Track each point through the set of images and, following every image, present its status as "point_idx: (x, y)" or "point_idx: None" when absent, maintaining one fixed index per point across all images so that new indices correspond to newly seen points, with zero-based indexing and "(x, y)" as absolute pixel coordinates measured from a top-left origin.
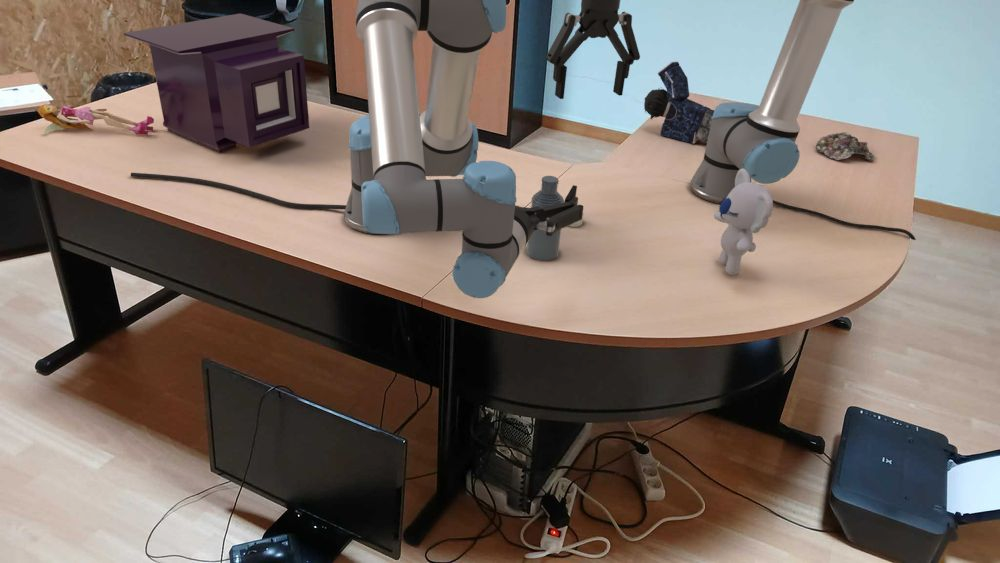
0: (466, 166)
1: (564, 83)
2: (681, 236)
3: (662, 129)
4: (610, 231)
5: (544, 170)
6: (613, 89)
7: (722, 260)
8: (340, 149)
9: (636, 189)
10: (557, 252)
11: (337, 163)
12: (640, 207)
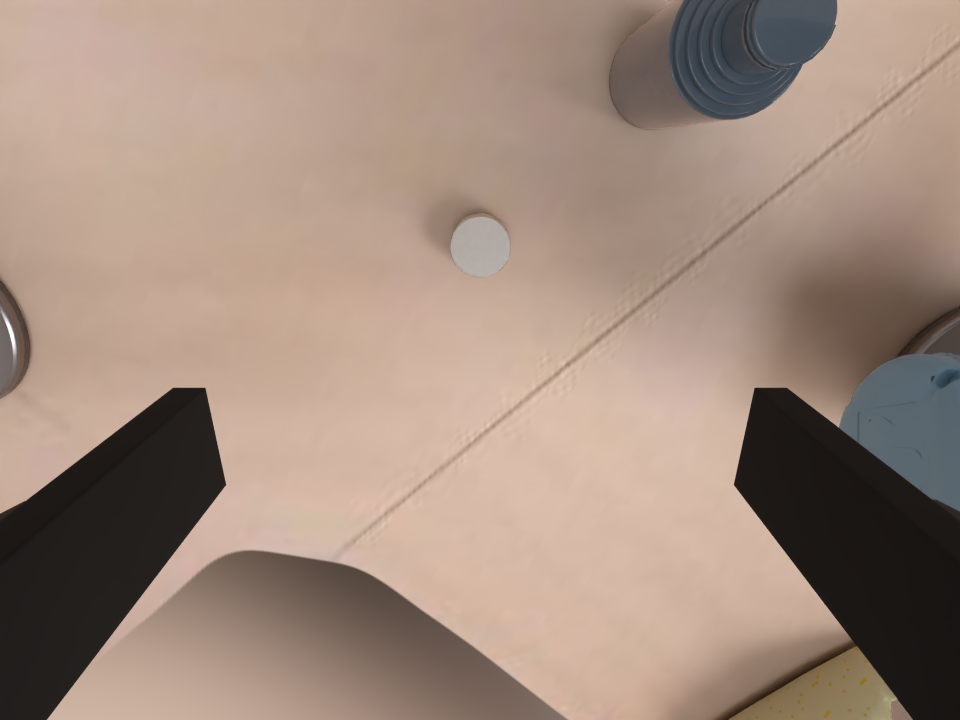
0: (940, 354)
1: (852, 462)
2: (166, 64)
3: None
4: (388, 159)
5: (424, 543)
6: (217, 494)
7: None
8: None
9: None
10: (633, 32)
11: None
12: (232, 285)
